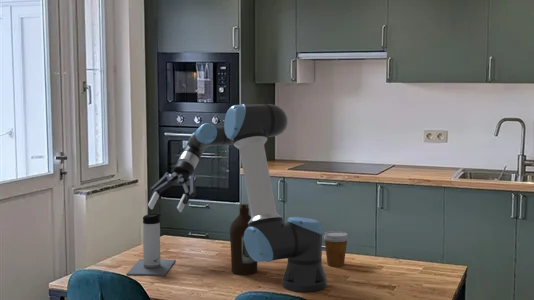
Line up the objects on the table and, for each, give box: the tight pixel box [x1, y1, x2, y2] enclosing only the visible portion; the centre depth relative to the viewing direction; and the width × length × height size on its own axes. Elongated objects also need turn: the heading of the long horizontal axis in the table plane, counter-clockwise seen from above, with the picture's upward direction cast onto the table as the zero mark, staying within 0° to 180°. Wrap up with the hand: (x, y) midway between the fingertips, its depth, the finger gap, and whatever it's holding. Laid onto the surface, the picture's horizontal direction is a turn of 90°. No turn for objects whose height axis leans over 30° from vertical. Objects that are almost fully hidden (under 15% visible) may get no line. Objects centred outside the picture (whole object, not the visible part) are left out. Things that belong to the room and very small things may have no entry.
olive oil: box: [229, 203, 258, 276], centre depth 242 cm, size 11×11×25 cm
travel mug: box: [142, 212, 161, 268], centre depth 247 cm, size 6×7×20 cm
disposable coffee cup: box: [322, 230, 349, 268], centre depth 252 cm, size 10×10×12 cm
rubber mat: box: [126, 258, 176, 277], centre depth 248 cm, size 20×14×1 cm
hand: (164, 208), depth 254 cm, fingers open, 13 cm apart
